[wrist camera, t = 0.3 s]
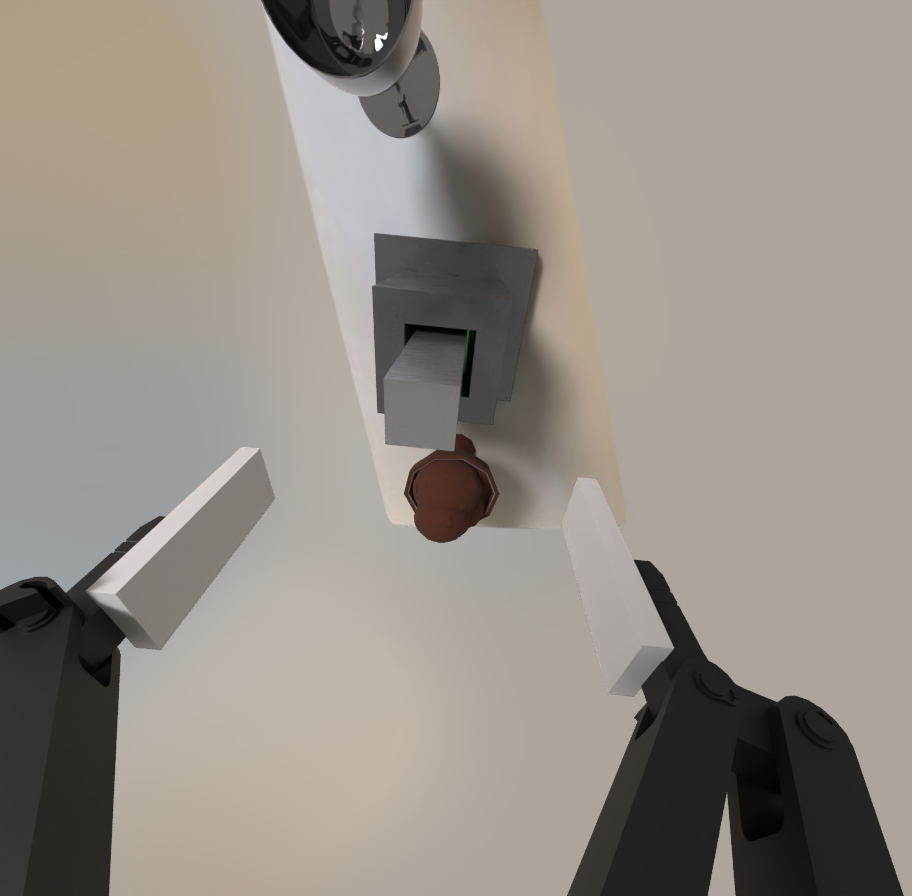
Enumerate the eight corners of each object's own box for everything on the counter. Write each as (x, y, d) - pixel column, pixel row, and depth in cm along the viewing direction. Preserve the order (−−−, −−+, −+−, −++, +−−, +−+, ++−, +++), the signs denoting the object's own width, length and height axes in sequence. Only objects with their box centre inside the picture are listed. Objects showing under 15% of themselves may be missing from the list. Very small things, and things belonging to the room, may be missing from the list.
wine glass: (463, 65, 28) (450, -81, 15) (411, 166, 31) (365, 118, 19) (379, -25, 25) (280, -285, 13) (333, 95, 29) (221, -14, 16)
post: (430, 304, 35) (380, 375, 17) (471, 309, 35) (463, 384, 17) (428, 346, 38) (383, 446, 20) (467, 350, 38) (456, 453, 20)
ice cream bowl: (494, 480, 50) (500, 564, 37) (420, 480, 51) (400, 562, 38) (496, 416, 44) (503, 488, 32) (412, 417, 45) (386, 488, 32)
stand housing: (378, 233, 34) (320, 231, 22) (535, 249, 34) (568, 256, 22) (382, 382, 43) (343, 443, 30) (509, 395, 43) (521, 462, 30)
